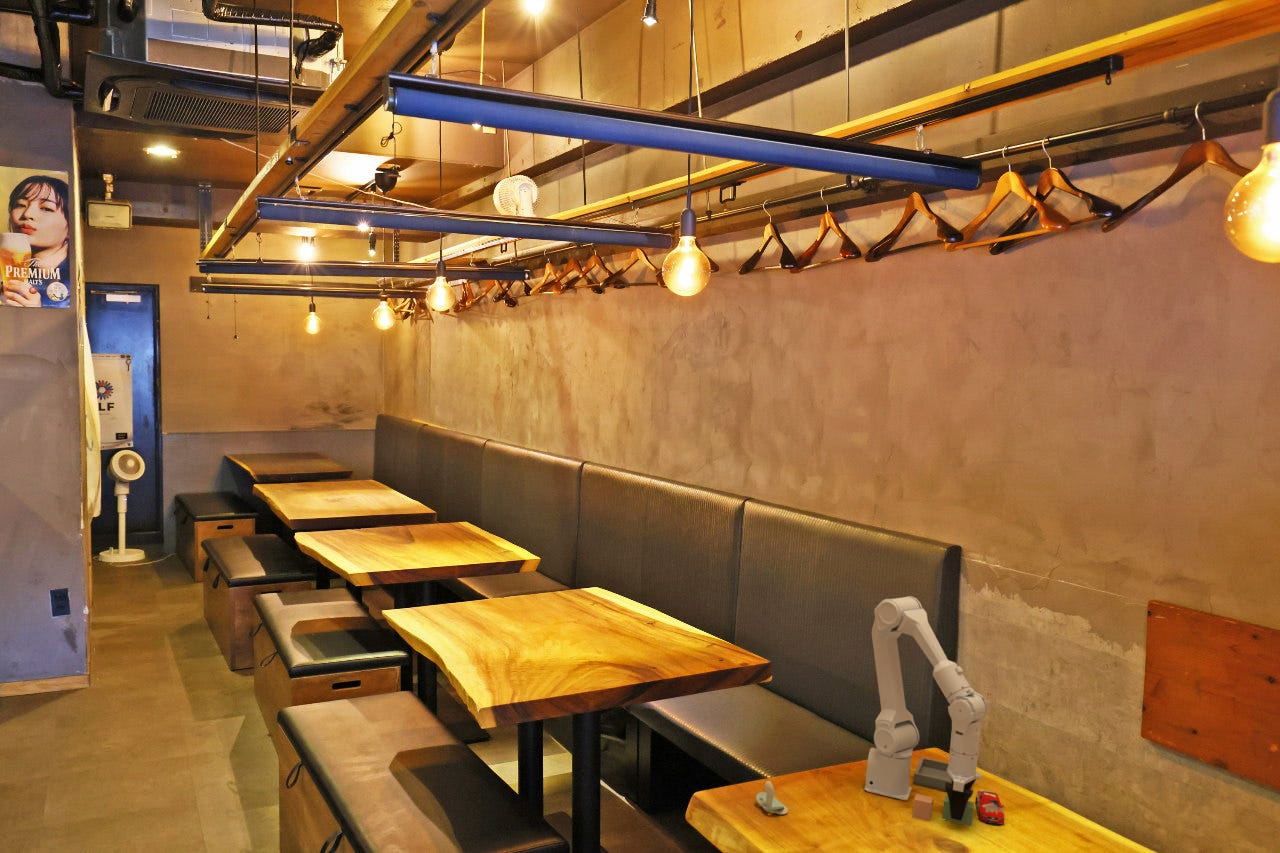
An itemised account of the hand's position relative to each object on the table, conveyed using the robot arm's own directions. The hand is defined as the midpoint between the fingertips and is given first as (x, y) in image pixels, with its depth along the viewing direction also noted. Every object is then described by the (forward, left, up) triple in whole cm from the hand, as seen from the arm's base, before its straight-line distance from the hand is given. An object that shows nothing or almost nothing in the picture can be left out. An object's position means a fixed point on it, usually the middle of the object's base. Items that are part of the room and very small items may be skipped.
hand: (957, 812), depth 205 cm
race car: (+6, +8, -2) cm, 10 cm away
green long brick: (0, 0, -2) cm, 2 cm away
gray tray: (-5, +21, -1) cm, 22 cm away
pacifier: (-36, -19, -2) cm, 40 cm away
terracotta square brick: (-7, -3, -2) cm, 8 cm away
